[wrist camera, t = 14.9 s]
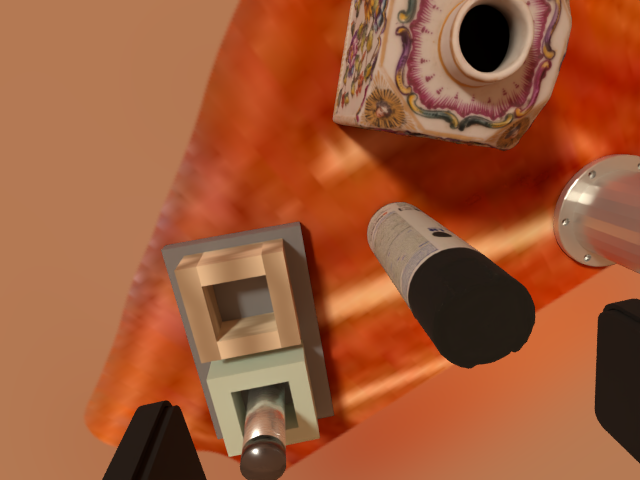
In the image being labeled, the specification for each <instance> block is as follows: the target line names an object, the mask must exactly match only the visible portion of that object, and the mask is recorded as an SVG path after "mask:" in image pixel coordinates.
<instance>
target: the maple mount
mask: <svg viewBox="0 0 640 480" xmlns="http://www.w3.org/2000/svg"><path fill="white" fill-rule="evenodd" d="M174 272H175V275H176V279H177V282H178V286H179V289H180V292H181V296H182V299H183V303H184V306H185V309H186V313H187V316H188V320H189V323H190V326H191V330H192V333H193V337H194V340H195V343H196V347H197V350H198V354H199V357H200V360H201V363H206V362H211V361H217V360H222V359H227V358H232V357H237V356H242V355H248V354H253V353H258V352H263V351H268V350H274V349H279V348H284V347H289V346H294V345H300V344H301V336H300V326H299V320H298V315H297V310H296V305H295V300H294V295H293V289H292V284H291V279H290V274H289V269H288V264H287V259H286V254H285V249H284V243H283V238H281V239H275V240H270V241H264V242H259V243H253V244H248V245H242V246H236V247H231V248H225V249H220V250H214V251H209V252H203V253H197V254H192V255H186V256H184V257H183V258H182V260H181V261H180V263H179V264H178V266H177V267H176V269H175V270H174ZM262 275H266V279H267V283H268V288H269V292H270V297H271V302H272V306H273V311H274V312H272V313H267V314H261V315H256V316H251V317H245V318H240V319H235V320H229V321H224V322H222V319H221V315H220V311H219V308H218V304H217V300H216V296H215V293H214V289H213V284H219V283H224V282H229V281H235V280H240V279H246V278H251V277H257V276H262Z"/></svg>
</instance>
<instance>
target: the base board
mask: <svg viewBox="0 0 640 480" xmlns="http://www.w3.org/2000/svg"><path fill="white" fill-rule="evenodd" d="M281 238H283V243H284V249H285V254H286V259H287V264H288V269H289V274H290V279H291V284H292V289H293V295H294V300H295V305H296V310H297V315H298V320H299V326H300V336H301V340H302V341H303V346H304V351H305V356H306V361H307V366H308V371H309V376H310V381H311V386H312V392H313V397H314V402H315V407H316V412H317V419H320V418H325V417H330V416H334V411H333V406H332V400H331V394H330V389H329V383H328V378H327V372H326V367H325V361H324V355H323V350H322V344H321V339H320V333H319V327H318V322H317V316H316V311H315V305H314V300H313V294H312V288H311V283H310V277H309V272H308V266H307V260H306V255H305V249H304V244H303V238H302V233H301V227H300V222H294V223H289V224H283V225H278V226H272V227H266V228H261V229H255V230H249V231H244V232H238V233H233V234H227V235H221V236H216V237H210V238H205V239H199V240H193V241H188V242H182V243H176V244H171V245H165V246H164V248H163V249H162V250H161V251H162V254H163V258H164V261H165V264H166V268H167V271H168V274H169V278H170V281H171V284H172V288H173V291H174V294H175V298H176V301H177V304H178V308H179V311H180V314H181V318H182V321H183V324H184V328H185V331H186V334H187V338H188V341H189V344H190V348H191V351H192V354H193V358H194V361H195V364H196V368H197V371H198V374H199V378H200V381H201V384H202V388H203V391H204V394H205V398H206V401H207V404H208V408H209V411H210V414H211V418H212V421H213V424H214V428H215V431H216V434H217V438H218V439H221V438H223V435H222V432H221V428H220V425H219V422H218V418H217V415H216V411H215V408H214V405H213V401H212V398H211V394H210V391H209V388H208V384H207V381H206V380H207V376H208V372H209V368H210V365H211V362H206V363H201V360H200V357H199V354H198V350H197V347H196V343H195V340H194V337H193V333H192V330H191V326H190V323H189V320H188V316H187V313H186V309H185V306H184V303H183V299H182V296H181V292H180V289H179V286H178V282H177V279H176V275H175V272H174V270H175V269H176V267H177V266H178V264H179V263H180V261H181V260H182V258H183V257H184V256H186V255H192V254H197V253H203V252H209V251H214V250H220V249H225V248H231V247H236V246H242V245H248V244H253V243H259V242H264V241H270V240H275V239H281ZM213 289H214V293H215V296H216V300H217V304H218V308H219V311H220V315H221V319H222V322H224V321H229V320H235V319H240V318H245V317H251V316H256V315H261V314H267V313H272V312H274V311H273V306H272V302H271V297H270V292H269V288H268V283H267V279H266V275H262V276H257V277H251V278H246V279H240V280H235V281H229V282H224V283H219V284H213ZM284 383H285V404H289V403H293V399H292V394H291V389H290V385H289V381H287V382H284ZM248 393H249V389H246V390H241V395H242V398H243V402H244V406H245V410H246V411H247V402H248Z"/></svg>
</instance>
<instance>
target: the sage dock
mask: <svg viewBox="0 0 640 480" xmlns="http://www.w3.org/2000/svg"><path fill="white" fill-rule="evenodd" d="M206 381H207V384H208V388H209V391H210V394H211V398H212V401H213V405H214V408H215V411H216V415H217V418H218V422H219V425H220V428H221V432H222V435H223V439H224V442H225V445H226V449H227V452H228V456H229V457H230V456H235V455H240V454H242V445H243V437H244V428H245V419H246V410H245V406H244V402H243V398H242V395H241V390H246V389H252V388H257V387H262V386H267V385H272V384H277V383H282V382H287V381H289V385H290V389H291V394H292V399H293V403H289V404H285V435H286V445H289V444H294V443H299V442H304V441H309V440H314V439H318V438H320V435H319V427H318V420H317V412H316V407H315V402H314V397H313V392H312V386H311V381H310V376H309V371H308V366H307V361H306V356H305V351H304V346H303V341H302V340H301V344H300V345H294V346H289V347H284V348H279V349H274V350H268V351H263V352H258V353H253V354H248V355H242V356H237V357H232V358H227V359H222V360H217V361H211V365H210V368H209V372H208V376H207V380H206Z"/></svg>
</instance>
